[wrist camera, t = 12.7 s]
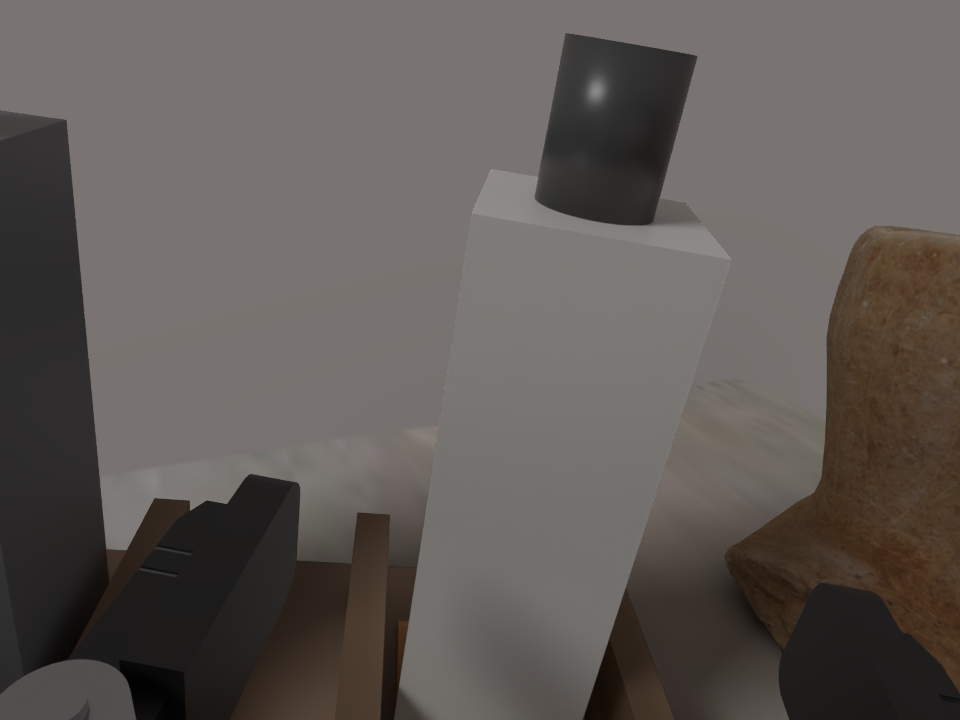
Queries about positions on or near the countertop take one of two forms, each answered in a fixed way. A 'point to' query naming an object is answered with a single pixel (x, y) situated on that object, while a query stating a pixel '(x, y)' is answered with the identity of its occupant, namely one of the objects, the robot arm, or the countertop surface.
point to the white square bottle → (559, 397)
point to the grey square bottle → (44, 409)
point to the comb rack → (369, 636)
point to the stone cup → (880, 452)
